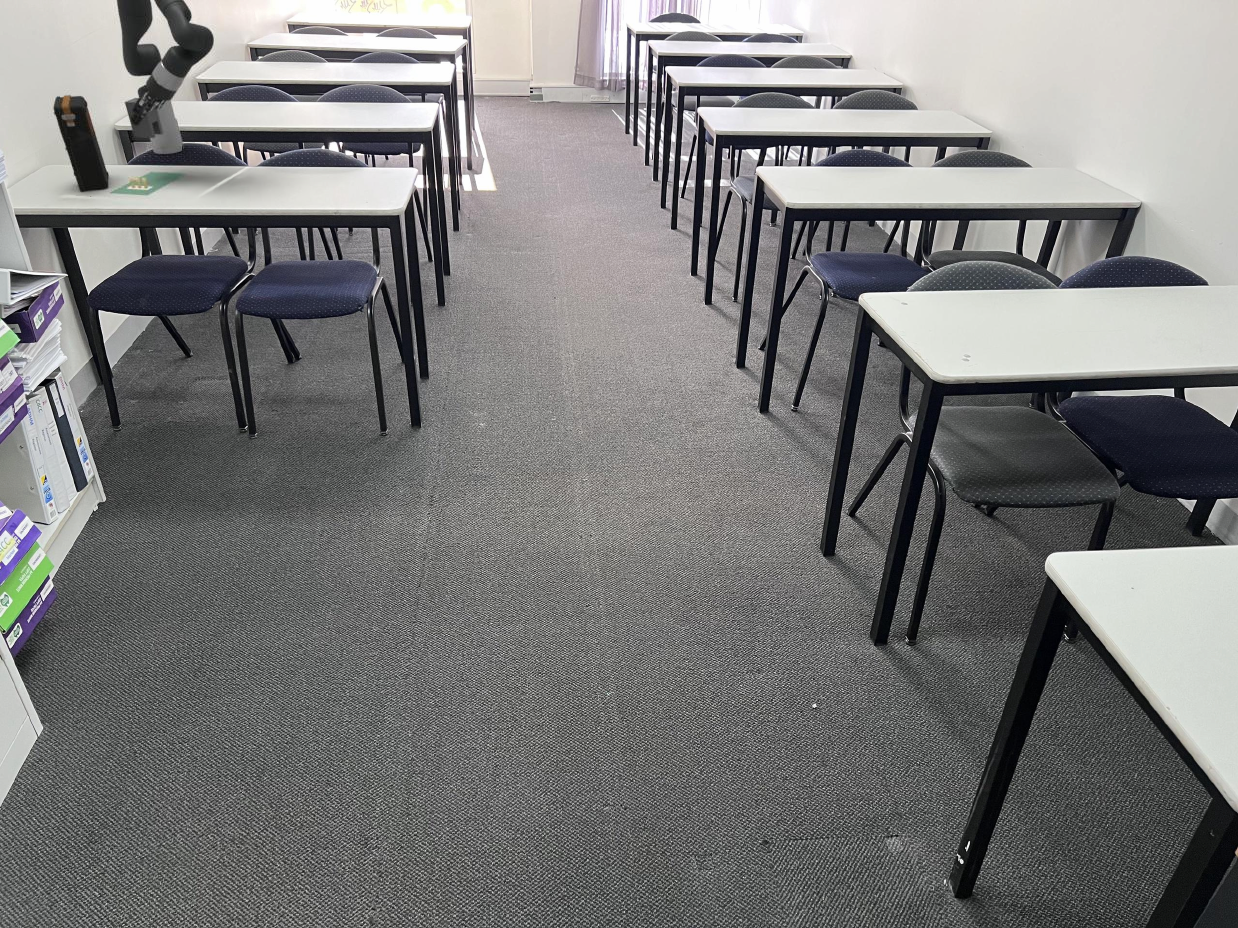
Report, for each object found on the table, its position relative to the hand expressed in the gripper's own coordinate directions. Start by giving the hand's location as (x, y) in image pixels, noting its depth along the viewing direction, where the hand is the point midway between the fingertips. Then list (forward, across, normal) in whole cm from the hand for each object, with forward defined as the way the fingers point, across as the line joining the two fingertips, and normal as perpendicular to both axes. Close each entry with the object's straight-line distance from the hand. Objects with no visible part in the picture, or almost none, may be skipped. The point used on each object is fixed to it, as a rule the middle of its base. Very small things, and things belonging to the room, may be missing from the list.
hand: (139, 120), depth 268 cm
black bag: (+23, +10, +3) cm, 25 cm away
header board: (+11, +6, +14) cm, 19 cm away
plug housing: (+2, 0, +4) cm, 5 cm away
